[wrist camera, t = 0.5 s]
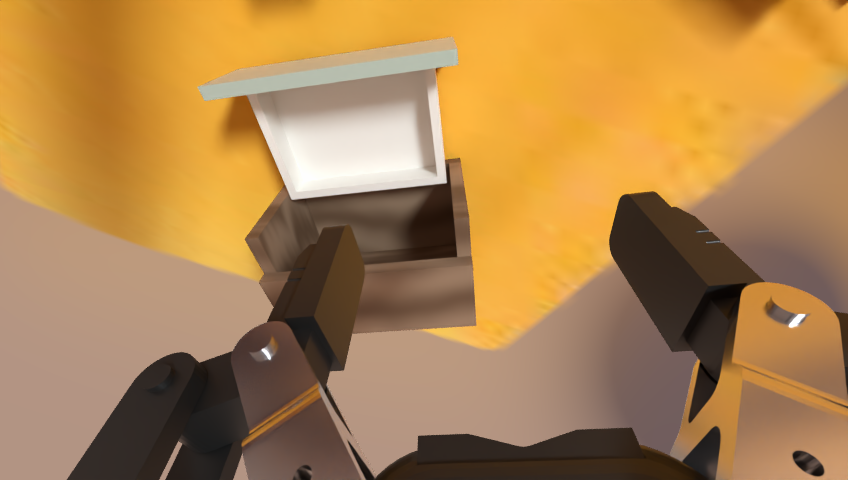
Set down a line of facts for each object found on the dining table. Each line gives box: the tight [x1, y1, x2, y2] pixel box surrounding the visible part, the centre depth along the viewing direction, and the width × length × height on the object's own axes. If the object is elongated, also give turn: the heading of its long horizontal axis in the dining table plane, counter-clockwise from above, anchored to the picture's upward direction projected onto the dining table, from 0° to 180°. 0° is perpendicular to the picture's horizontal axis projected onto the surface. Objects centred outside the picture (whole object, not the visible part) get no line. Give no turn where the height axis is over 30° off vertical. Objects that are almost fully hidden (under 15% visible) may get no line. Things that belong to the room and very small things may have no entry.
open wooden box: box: [245, 158, 476, 334], centre depth 35 cm, size 12×19×13 cm, turn 98°
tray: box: [198, 37, 458, 200], centre depth 30 cm, size 12×19×6 cm, turn 98°
